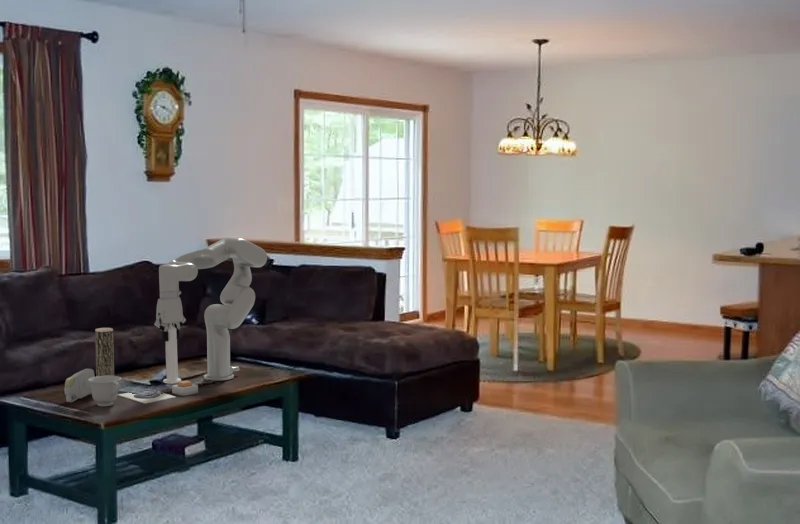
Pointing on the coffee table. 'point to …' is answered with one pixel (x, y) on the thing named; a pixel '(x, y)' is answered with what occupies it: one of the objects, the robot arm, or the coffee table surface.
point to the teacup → (105, 389)
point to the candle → (171, 356)
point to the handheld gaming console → (78, 385)
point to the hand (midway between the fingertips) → (170, 339)
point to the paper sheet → (146, 397)
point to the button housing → (185, 390)
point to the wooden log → (104, 351)
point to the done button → (185, 383)
